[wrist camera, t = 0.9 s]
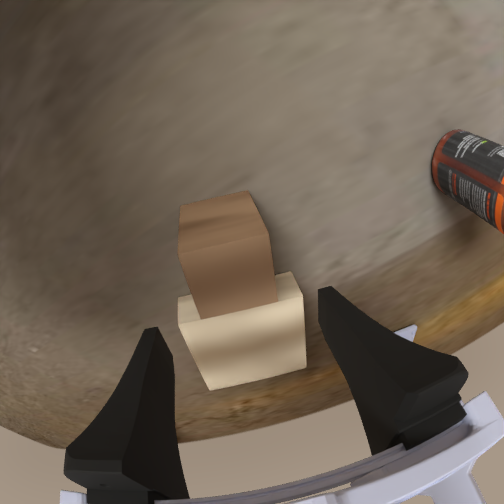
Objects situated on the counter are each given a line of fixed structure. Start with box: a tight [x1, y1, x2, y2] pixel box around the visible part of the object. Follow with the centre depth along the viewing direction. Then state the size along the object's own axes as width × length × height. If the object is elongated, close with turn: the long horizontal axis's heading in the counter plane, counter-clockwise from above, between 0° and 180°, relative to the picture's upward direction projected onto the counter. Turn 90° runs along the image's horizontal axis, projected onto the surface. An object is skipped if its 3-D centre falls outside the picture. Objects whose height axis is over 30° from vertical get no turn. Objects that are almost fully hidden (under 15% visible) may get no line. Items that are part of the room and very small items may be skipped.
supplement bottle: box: [432, 129, 504, 234], centre depth 17 cm, size 6×6×11 cm
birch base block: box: [178, 271, 306, 390], centre depth 25 cm, size 9×9×3 cm
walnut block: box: [178, 190, 278, 320], centre depth 19 cm, size 4×4×6 cm
